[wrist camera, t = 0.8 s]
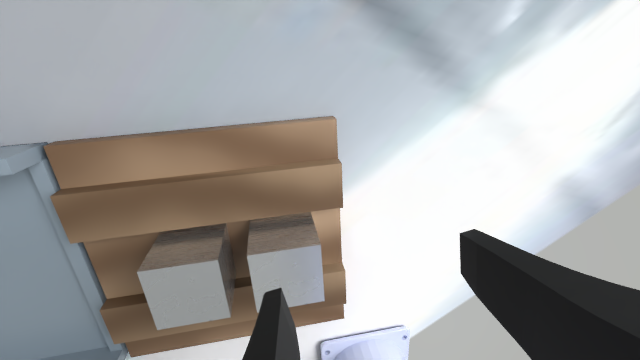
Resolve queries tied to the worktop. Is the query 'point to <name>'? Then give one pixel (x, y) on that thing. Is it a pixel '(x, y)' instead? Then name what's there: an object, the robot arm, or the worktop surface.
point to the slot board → (198, 212)
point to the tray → (44, 271)
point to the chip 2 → (286, 258)
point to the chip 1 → (189, 276)
